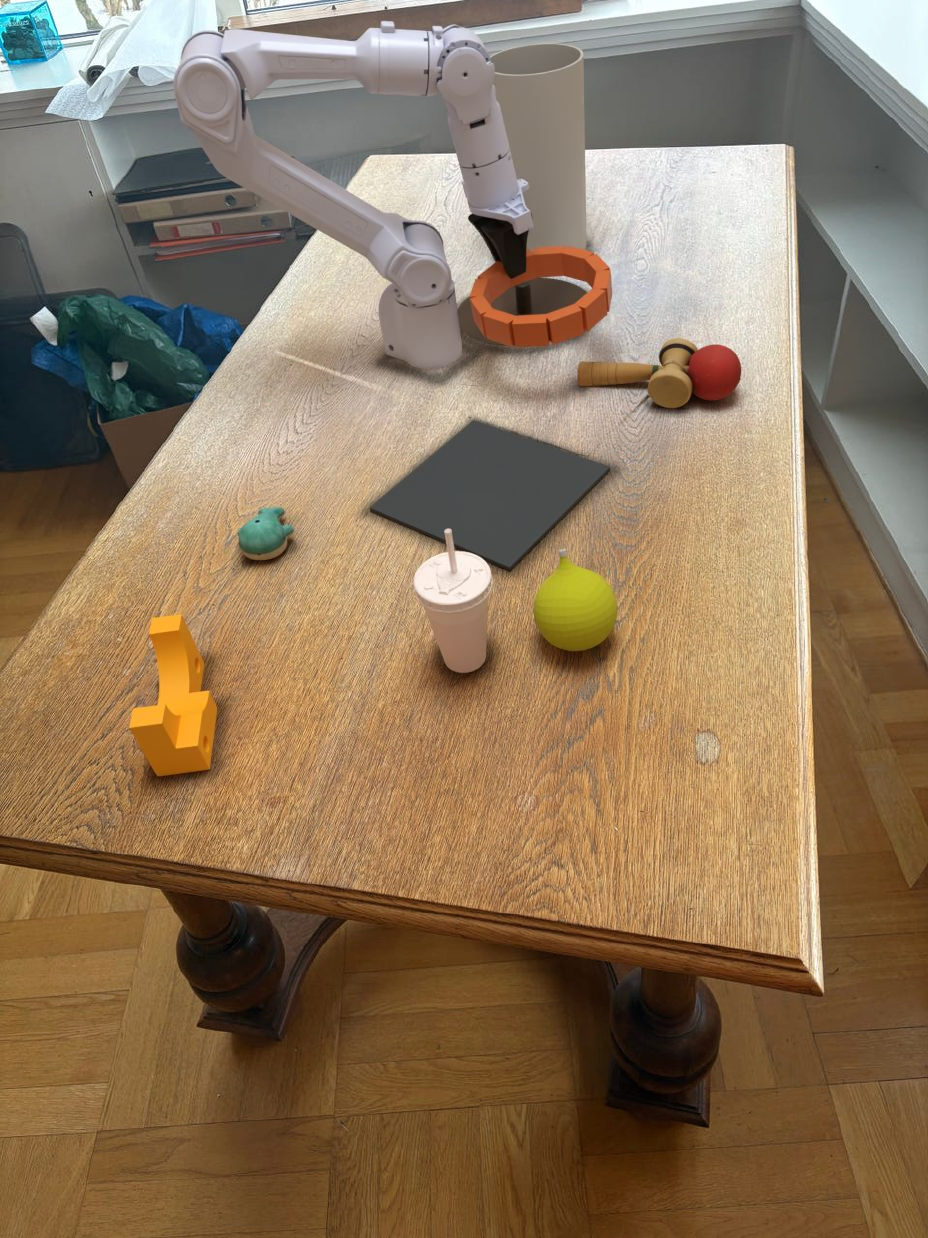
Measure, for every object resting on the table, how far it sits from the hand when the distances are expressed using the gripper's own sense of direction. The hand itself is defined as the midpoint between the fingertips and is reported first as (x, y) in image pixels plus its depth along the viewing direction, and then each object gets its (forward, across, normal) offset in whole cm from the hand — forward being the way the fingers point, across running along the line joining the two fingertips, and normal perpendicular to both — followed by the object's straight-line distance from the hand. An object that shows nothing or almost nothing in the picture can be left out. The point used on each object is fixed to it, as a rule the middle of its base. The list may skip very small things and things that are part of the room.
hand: (513, 270), depth 112 cm
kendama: (+12, -18, -7) cm, 23 cm away
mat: (+8, -25, +17) cm, 31 cm away
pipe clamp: (+4, -40, +52) cm, 65 cm away
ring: (+2, -7, 0) cm, 7 cm away
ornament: (+9, -47, +19) cm, 52 cm away
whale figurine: (+5, -20, +40) cm, 45 cm away
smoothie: (+8, -45, +28) cm, 54 cm away
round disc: (+10, +7, -2) cm, 12 cm away
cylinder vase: (+11, +22, -12) cm, 27 cm away
